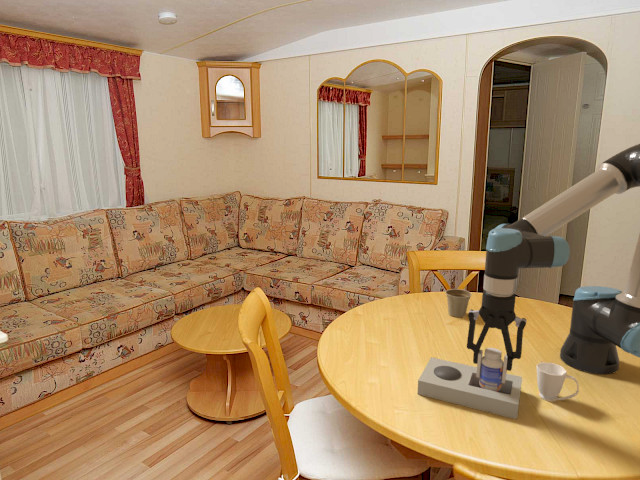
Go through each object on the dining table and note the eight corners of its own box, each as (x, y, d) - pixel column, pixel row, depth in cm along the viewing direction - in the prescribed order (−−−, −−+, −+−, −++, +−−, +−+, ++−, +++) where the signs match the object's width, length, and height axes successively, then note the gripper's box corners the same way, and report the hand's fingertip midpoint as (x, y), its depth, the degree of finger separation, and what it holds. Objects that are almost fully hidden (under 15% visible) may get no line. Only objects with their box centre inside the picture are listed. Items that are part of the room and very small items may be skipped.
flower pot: (439, 311, 173) (440, 290, 171) (460, 308, 176) (461, 287, 174) (453, 320, 165) (454, 298, 163) (475, 317, 167) (476, 295, 165)
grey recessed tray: (520, 390, 119) (522, 375, 118) (516, 419, 107) (518, 403, 106) (430, 369, 130) (431, 356, 129) (417, 394, 118) (418, 379, 117)
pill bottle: (503, 392, 113) (507, 357, 110) (480, 390, 114) (483, 355, 111) (499, 381, 118) (502, 347, 116) (477, 379, 119) (480, 345, 117)
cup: (534, 386, 121) (537, 359, 119) (576, 396, 117) (580, 368, 115) (532, 399, 115) (535, 371, 113) (576, 411, 111) (581, 381, 109)
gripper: (541, 293, 109) (531, 379, 114) (463, 282, 117) (456, 363, 123) (540, 303, 103) (529, 394, 108) (457, 290, 111) (451, 376, 116)
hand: (491, 377), depth 115 cm, fingers closed on pill bottle, 5 cm apart
